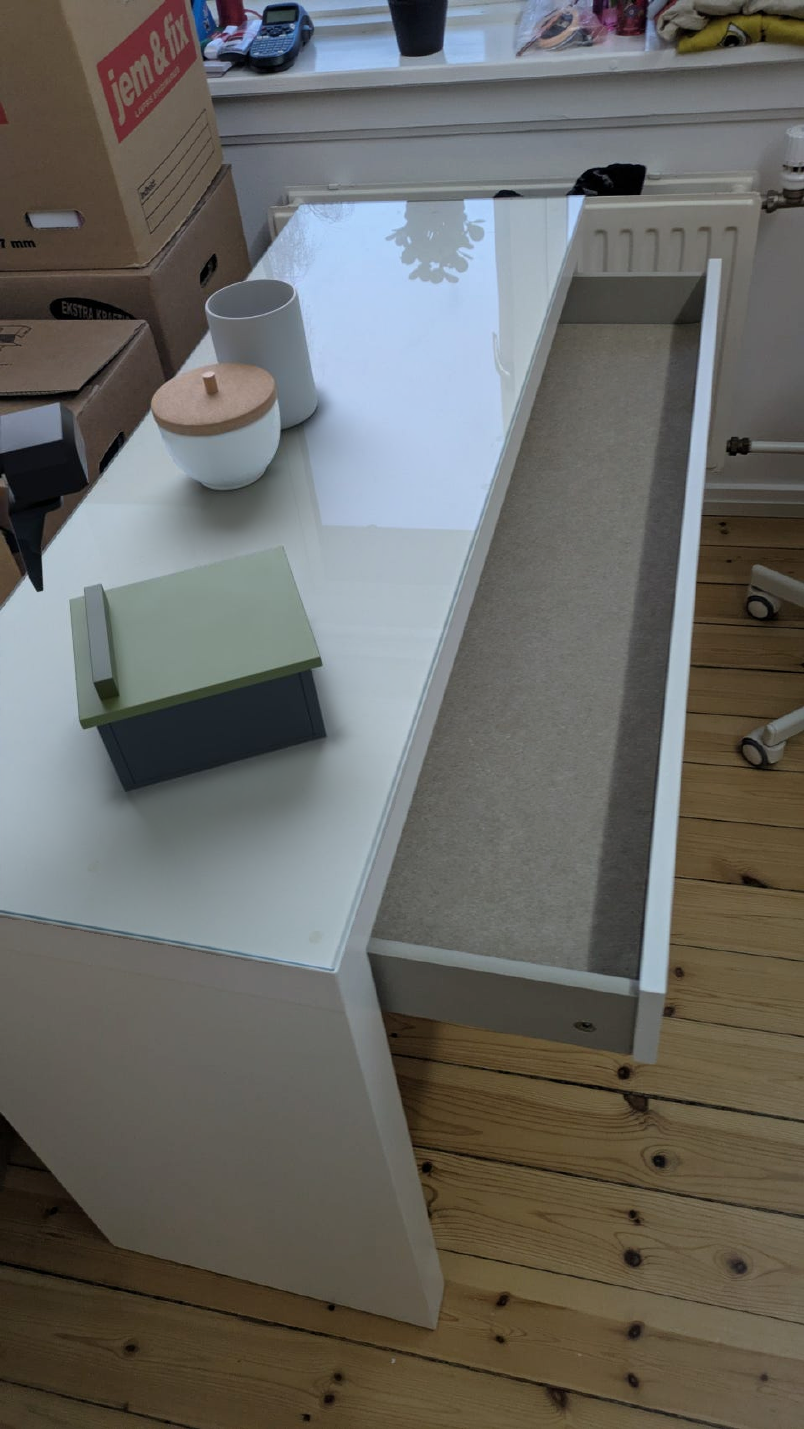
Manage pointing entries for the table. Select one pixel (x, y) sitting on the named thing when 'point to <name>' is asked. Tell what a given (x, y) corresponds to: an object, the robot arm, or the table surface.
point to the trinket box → (220, 423)
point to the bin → (214, 730)
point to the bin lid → (188, 636)
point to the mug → (266, 340)
